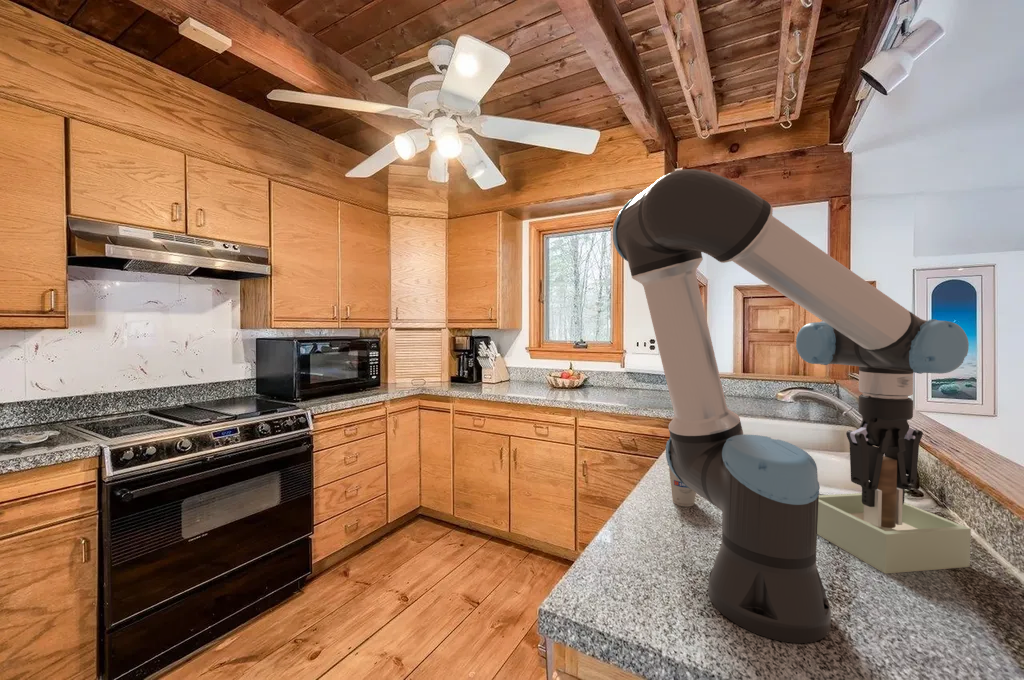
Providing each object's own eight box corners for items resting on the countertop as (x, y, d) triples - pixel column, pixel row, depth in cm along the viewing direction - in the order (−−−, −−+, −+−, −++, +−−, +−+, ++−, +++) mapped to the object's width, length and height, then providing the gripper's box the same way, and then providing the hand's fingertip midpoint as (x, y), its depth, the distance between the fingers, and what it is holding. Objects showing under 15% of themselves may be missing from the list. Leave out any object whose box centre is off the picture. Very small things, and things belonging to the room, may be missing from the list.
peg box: (884, 573, 70) (886, 534, 70) (806, 528, 86) (807, 496, 86) (969, 566, 72) (970, 528, 72) (877, 523, 88) (878, 492, 88)
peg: (883, 528, 77) (884, 462, 77) (864, 519, 81) (866, 456, 80) (901, 527, 78) (902, 461, 77) (881, 518, 81) (883, 455, 81)
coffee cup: (667, 494, 103) (667, 453, 103) (698, 498, 101) (699, 456, 101) (667, 506, 97) (667, 462, 96) (701, 510, 94) (701, 465, 94)
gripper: (863, 400, 74) (860, 535, 74) (948, 397, 76) (944, 528, 77) (826, 393, 81) (824, 516, 82) (904, 391, 83) (901, 510, 84)
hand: (882, 522), depth 79 cm, fingers closed on peg, 3 cm apart
